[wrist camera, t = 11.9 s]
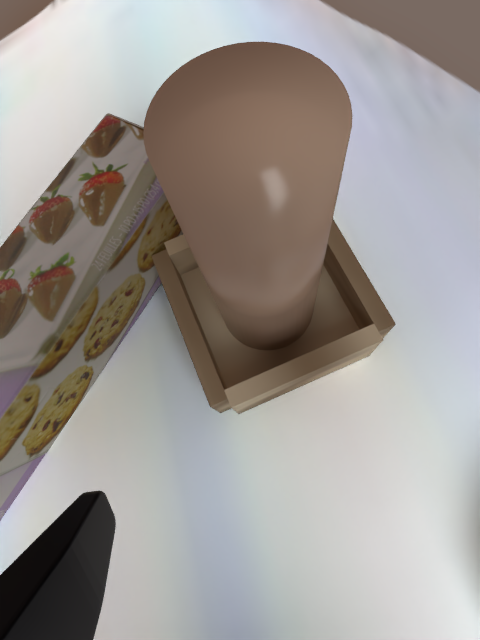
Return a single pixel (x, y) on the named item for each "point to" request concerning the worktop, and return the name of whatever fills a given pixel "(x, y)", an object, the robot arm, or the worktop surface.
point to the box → (74, 289)
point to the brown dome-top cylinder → (253, 178)
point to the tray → (285, 363)
